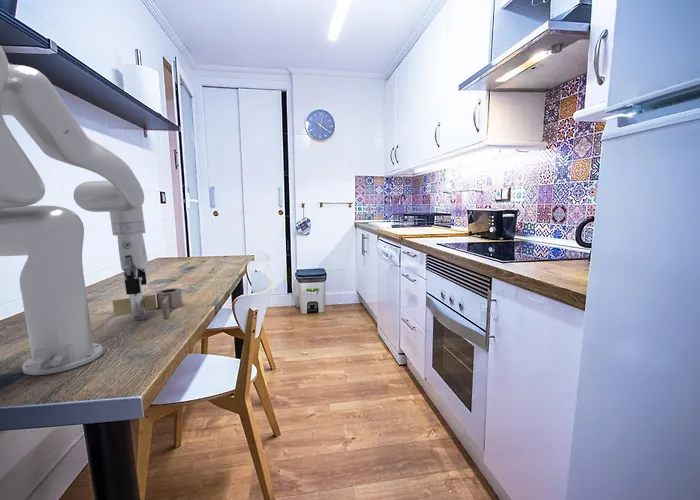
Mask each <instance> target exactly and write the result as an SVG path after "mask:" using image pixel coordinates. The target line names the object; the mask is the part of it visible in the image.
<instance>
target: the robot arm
mask: <svg viewBox="0 0 700 500" xmlns="http://www.w3.org/2000/svg"><path fill="white" fill-rule="evenodd" d="M62 98H63V97H62V96H60V94H59V92H58V91H57V89H56V88H55V87H54V85H53V84H52V82H51V81H50V80H49V78H48V77H47V76H46V75H45V74H44V73H42V72H41V71H39V70H38V69H36V68H33V67H31V66H26V65H20V64H9V59H8V57H7V54H6V53H5V51H4V49H3V46H2V45H0V257H14V256H15V257H16V256H17V257H19V256H27V259H26V261H25V263H24V265H23V267H22V270H21V271H20V276H19V287H20V288H19V289H20V292H21V299H22V304H23V305H22V306H23V312H24V317H25V318H24V319H25V323H26V324H25V325H26V330H27V336H28V342H29V348H30V353H31V354H30V355H31V358H29V359H27V360H26V361H24V362H23V364H22V366H21V369H22V373H24V374H25V375H29V376H43V375H51V374H57V373H62V372H66V371H69V370H73V369H76V368H79V367H82V366H83V365H86V364H88V363H91V362H92V361H95V360H96V359H99V357H100V356H101V355H102V354H103V353H104V348H103V345H102V344H100V343H96V342H94V340H93V333H92V326H91V319H90V318H91V317H90V310H89V304H88V298H87V296H88V295H87V290H86V283H85V277H84V276H85V275H84V266H83V246H84V245H83V244H84V238H85V226H84V223H83V221H82V218H80V216H79V215H78V214H77V213H76V212H74V211H73V210H71V209H68V208H66V207H62V206H57V205H34V204H37V203H39V202H40V201H42V199H43V198H44V196H45V193H46V187H45V184H44V183H45V182H44V181H43V179H42V178H41V176H40V174H39V172H38V171H37V168H36V167H35V166H34V165H33V163H32V161H31V160H30V159H29V158H28V156H27V154H26V153H25V151H24V150H23V149H22V146H21V145H20V144H19V143H18V141H17V139H16V138H15V136H14V135H13V133H12V131H11V130H10V128H9V126H8V125H7V124H6V121H5V119H4V116H12V117H13V118H14V119H15V120H16V121H17V122H18V124H20V126H21V127H22V128H23V129H24V131H26V133H27V134H28V135H29V137H30V138H31V139H32V140H33V141H34V142H35V144H36V145H37V146H38V148H39V149H40V150H41V151H42V152H43V154H45V155H46V156H47V157H49V158H51V159H54V160H56V161H58V162H62V163H64V164H67V165H69V166H73V167H78V168H81V169H84V170H88V171H90V172H92V173H95V174H96V175H99V176H101V177H102V178H104V179H105V180H91V181H84V182H82V183H80V184H78V185H76V187H75V188H74V191H73V193H72V194H73V200H74V202H75V203H76V205H77V206H78V207H80V208H81V209H83V210H84V211H87V212H93V213H103V212H104V213H106V212H109V217H110V218H109V219H110V225H111V232H112V236H113V237H114V236H117V247H118V254H119V256H118V257H119V262H120V267H121V268H120V269H121V270H122V271H123V272H124V273H123V275H124V276H123V278H124V286H125V291H126V293H125V294H126V295H129V296H130V294H138V293H140V292H141V289H140V282H139V278H138V279H137V277H142V281H141V286H145V285H147V274H146V270H145V268H146V267H147V266H148V265H149V264H148V263H149V259H148V256H147V250H146V244H145V240H144V239H145V238H144V236H143V234H146V225H145V219H144V212H143V211H144V209H143V204H144V203H145V193H144V189H143V187H142V184H141V183H140V182H139V180H138V178H137V176H136V175H135V174H134V171H133V170H132V169H131V167H130V166H129V165H128V164H127V163H126V162H125V161H124V160H123V159H122V158H121V157H120V156H118V155H116V154H115V153H114V152H112V151H111V150H109V149H107V147H105V146H102V145H101V144H100V143H98V142H95V141H94V140H92V139H91V138H90V137H89V136H88V135H87V134H86V133H85V131H84V130H83V128H82V126H81V125H80V123H79V122H78V121H77V119H76V118H75V116H74V115H73V114H72V112H71V110H70V109H69V108H68V106H67V105H66V103H65V102H64V101H65V100H63V99H62Z"/></svg>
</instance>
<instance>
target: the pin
mask: <svg viewBox="0 0 700 500" xmlns="http://www.w3.org/2000/svg"><path fill="white" fill-rule="evenodd" d="M138 278H139V282H140V289H141V292H140V293H138V294H130V295H129V298H130V303H131V312H132V313H131V319H132V321H133V322H139V321H142V320H145V319H146V315H145V314H146V313H145V311H144V304H143V296H144V295H143V289H142V288H143V287H142V285H141V281H142V277H137V279H138Z"/></svg>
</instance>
